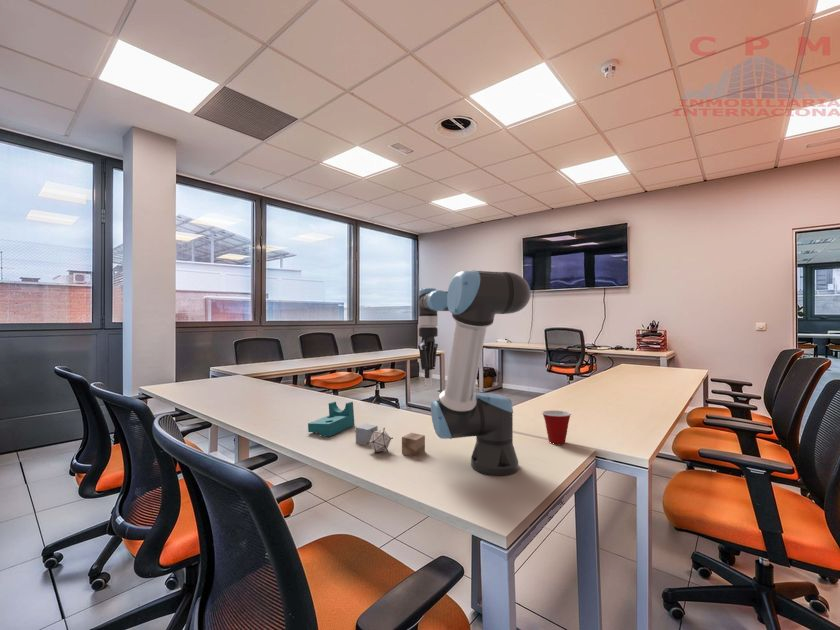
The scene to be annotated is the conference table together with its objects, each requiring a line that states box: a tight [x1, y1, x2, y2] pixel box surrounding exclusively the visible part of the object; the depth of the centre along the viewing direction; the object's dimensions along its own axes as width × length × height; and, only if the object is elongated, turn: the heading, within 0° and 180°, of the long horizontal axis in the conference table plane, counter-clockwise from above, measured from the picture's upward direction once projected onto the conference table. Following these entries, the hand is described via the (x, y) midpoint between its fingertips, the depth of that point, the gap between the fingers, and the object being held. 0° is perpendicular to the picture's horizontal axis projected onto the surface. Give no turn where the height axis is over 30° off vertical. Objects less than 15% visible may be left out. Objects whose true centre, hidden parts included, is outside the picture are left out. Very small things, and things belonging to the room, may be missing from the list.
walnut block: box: [401, 432, 426, 458], centre depth 130 cm, size 6×6×6 cm
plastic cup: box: [541, 409, 572, 445], centre depth 141 cm, size 11×11×12 cm
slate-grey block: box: [355, 423, 379, 446], centre depth 142 cm, size 6×6×6 cm
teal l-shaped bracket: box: [307, 401, 355, 437], centre depth 158 cm, size 18×11×10 cm, turn 157°
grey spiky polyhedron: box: [367, 427, 394, 455], centre depth 131 cm, size 9×8×10 cm
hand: (428, 385), depth 145 cm, fingers closed
